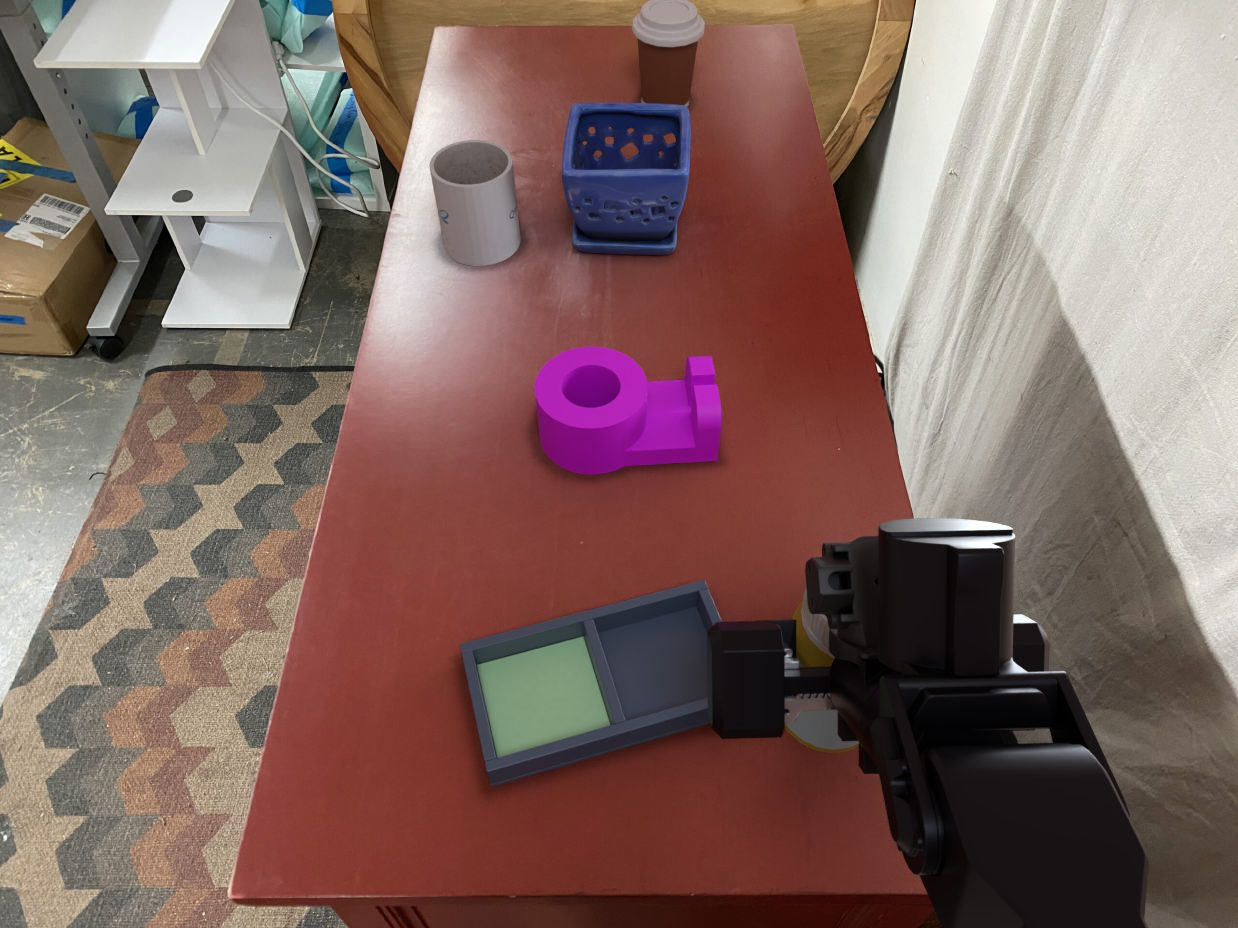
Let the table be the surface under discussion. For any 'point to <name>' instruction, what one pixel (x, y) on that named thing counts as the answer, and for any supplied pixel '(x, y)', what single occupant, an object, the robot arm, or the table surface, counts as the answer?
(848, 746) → the bottle
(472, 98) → the table surface
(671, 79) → the coffee cup
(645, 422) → the tape dispenser
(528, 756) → the blue-grey divided tray
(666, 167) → the flower pot
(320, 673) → the table surface
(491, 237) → the mug
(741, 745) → the table surface
